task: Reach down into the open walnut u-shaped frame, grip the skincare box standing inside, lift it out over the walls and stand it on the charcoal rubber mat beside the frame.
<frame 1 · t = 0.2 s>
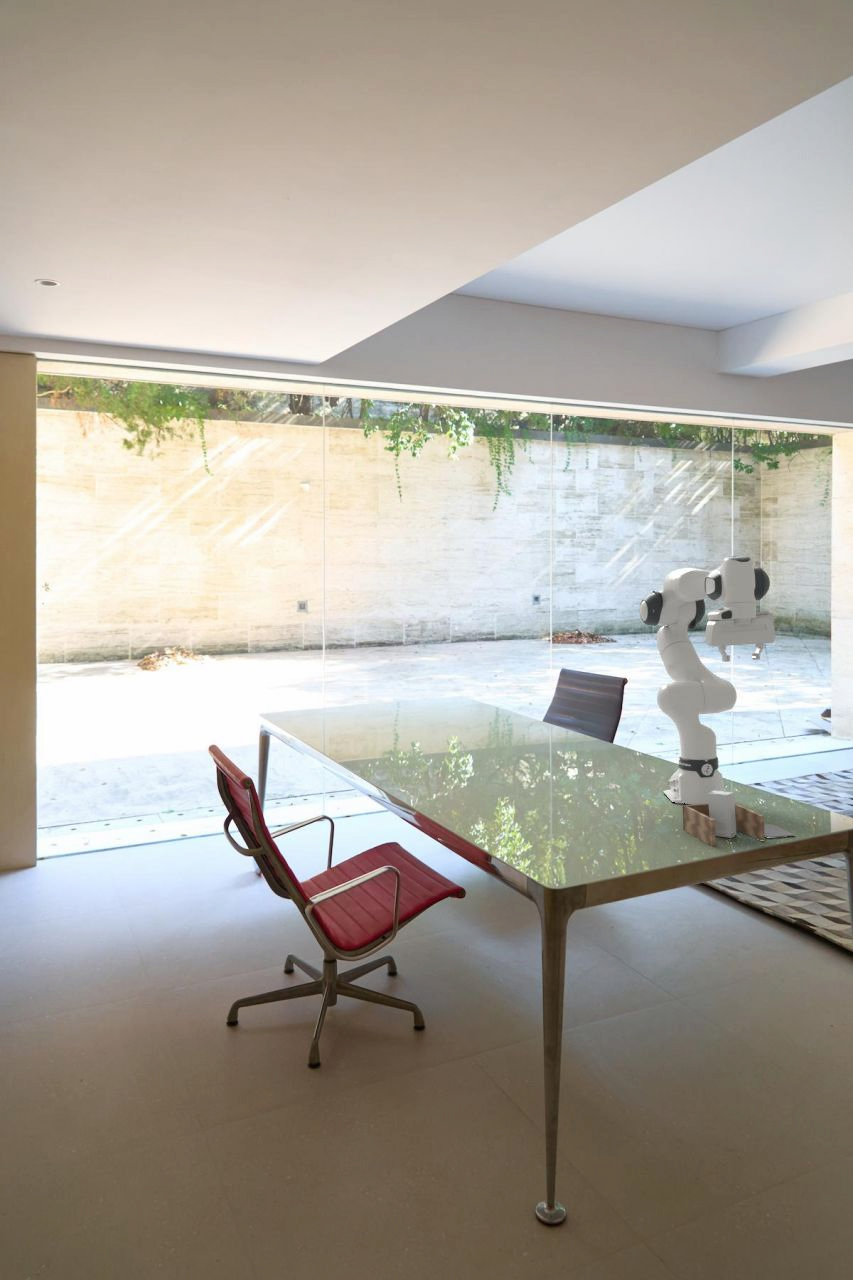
hand: (741, 660, 267), 47 cm above the table, tool pointing down, fingers open, 8 cm apart
walnut u-shaped frame: (722, 835, 257), on the table
skincare box: (722, 836, 257), resting in walnut u-shaped frame
charcoal mat: (770, 832, 258), on the table
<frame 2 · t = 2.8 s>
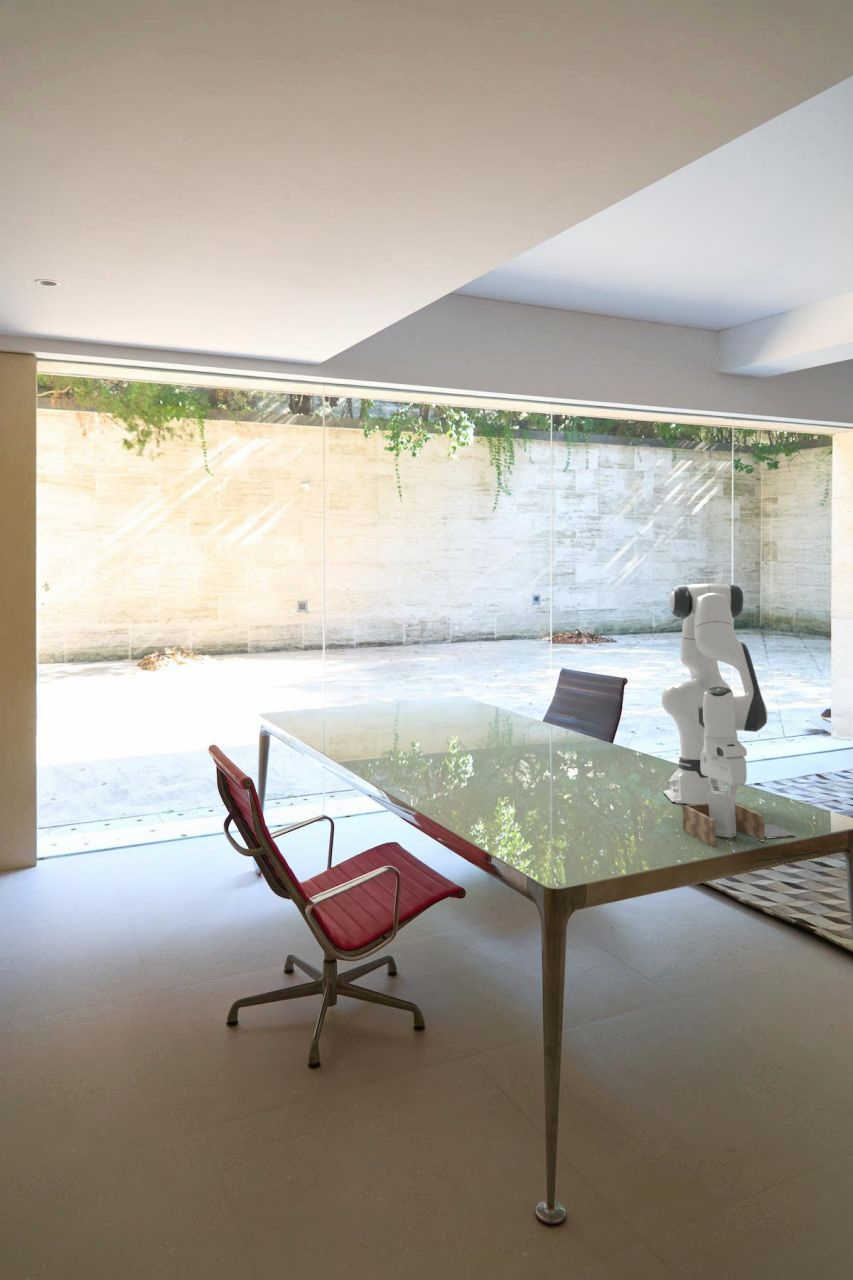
hand: (723, 796, 256), 11 cm above the table, tool pointing down, fingers open, 8 cm apart
skincare box: (722, 836, 257), resting in walnut u-shaped frame, touching gripper
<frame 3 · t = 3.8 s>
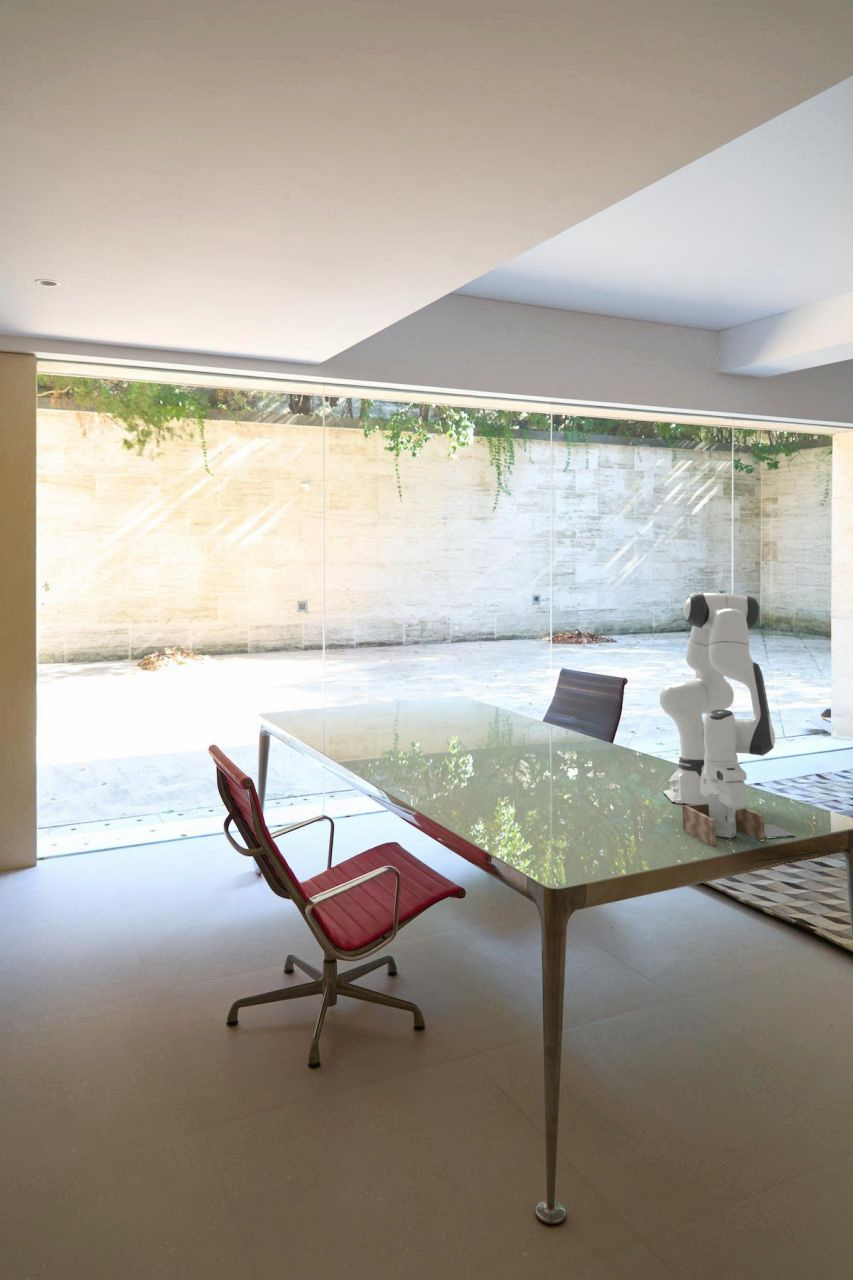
hand: (722, 818, 257), 5 cm above the table, tool pointing down, fingers closed on skincare box, 7 cm apart
skincare box: (722, 836, 257), resting in walnut u-shaped frame, touching gripper
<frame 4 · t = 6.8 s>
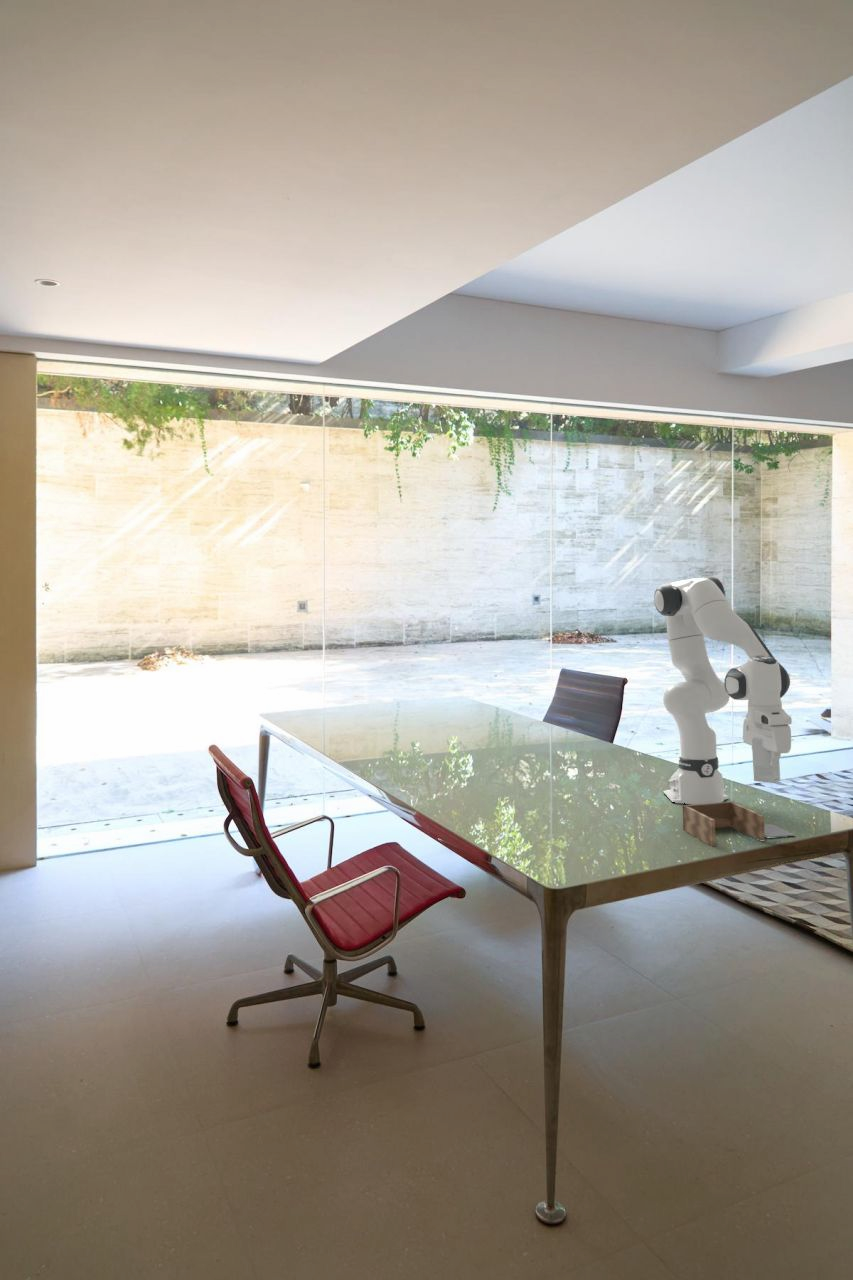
hand: (766, 764, 257), 19 cm above the table, tool pointing down, fingers closed on skincare box, 7 cm apart
skincare box: (766, 782, 258), point 14 cm above the table, touching gripper
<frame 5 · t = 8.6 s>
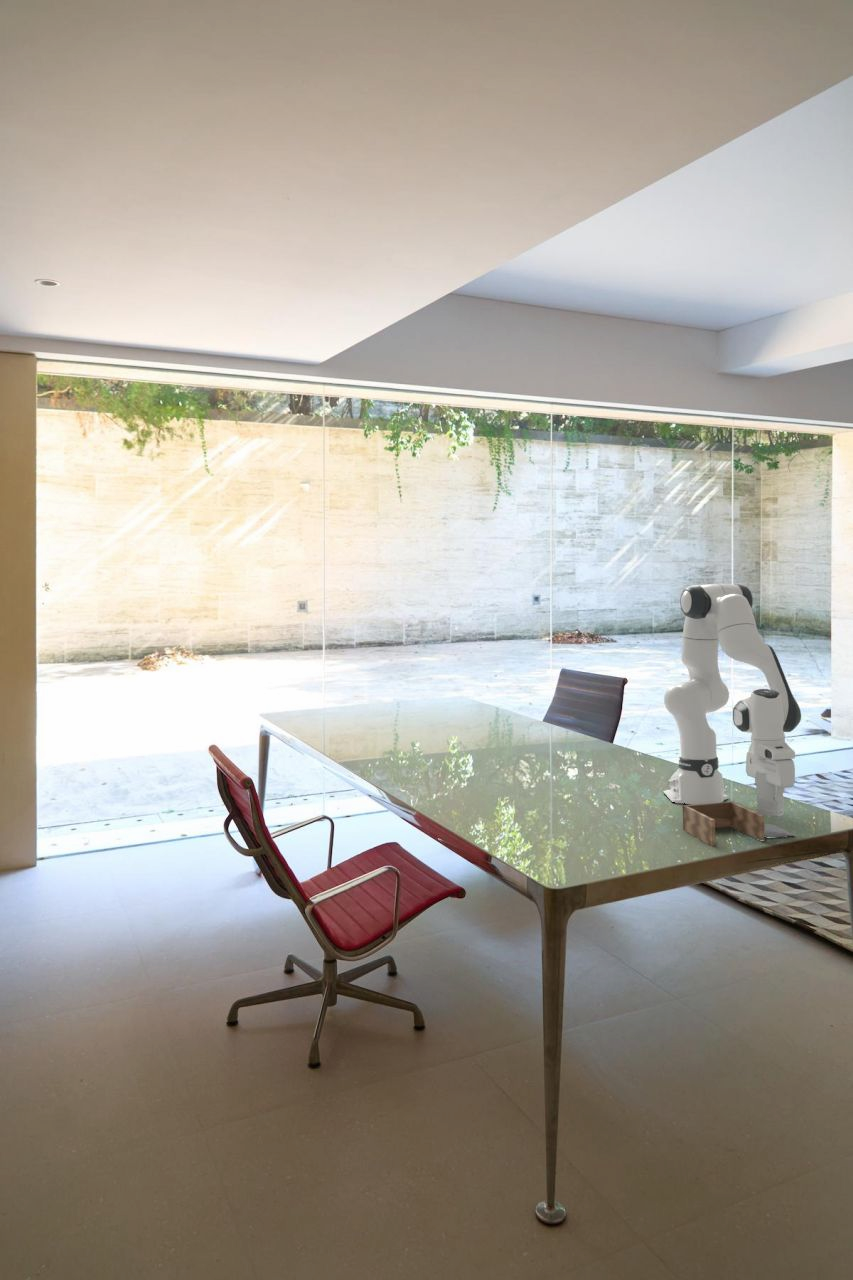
hand: (769, 797, 258), 10 cm above the table, tool pointing down, fingers closed on skincare box, 7 cm apart
skincare box: (770, 815, 258), point 5 cm above the table, touching gripper
when the fingers open (7 cm above the table, at t = 9.8 s): skincare box drops 1 cm, resting on charcoal mat.
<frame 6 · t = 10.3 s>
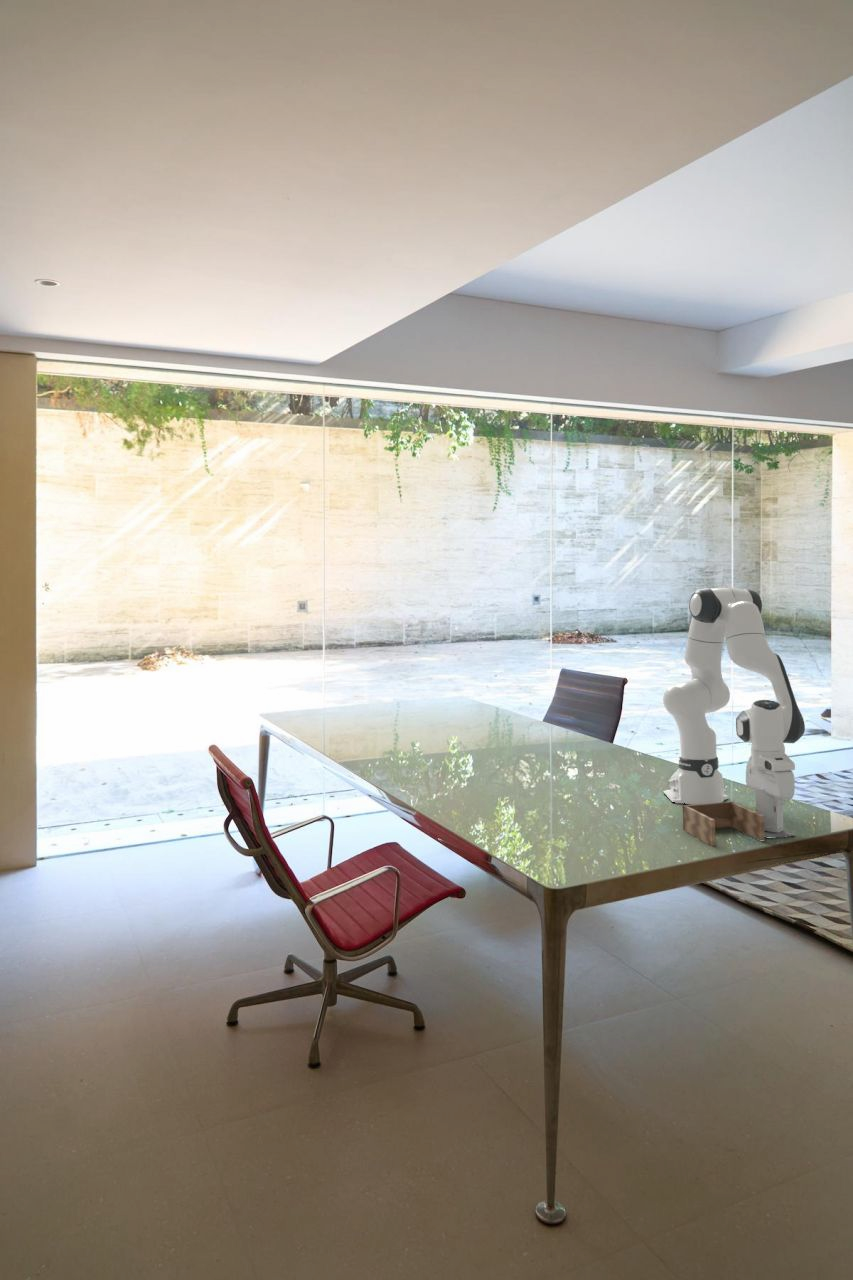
hand: (769, 808, 258), 7 cm above the table, tool pointing down, fingers open, 8 cm apart
skincare box: (769, 831, 258), resting on charcoal mat
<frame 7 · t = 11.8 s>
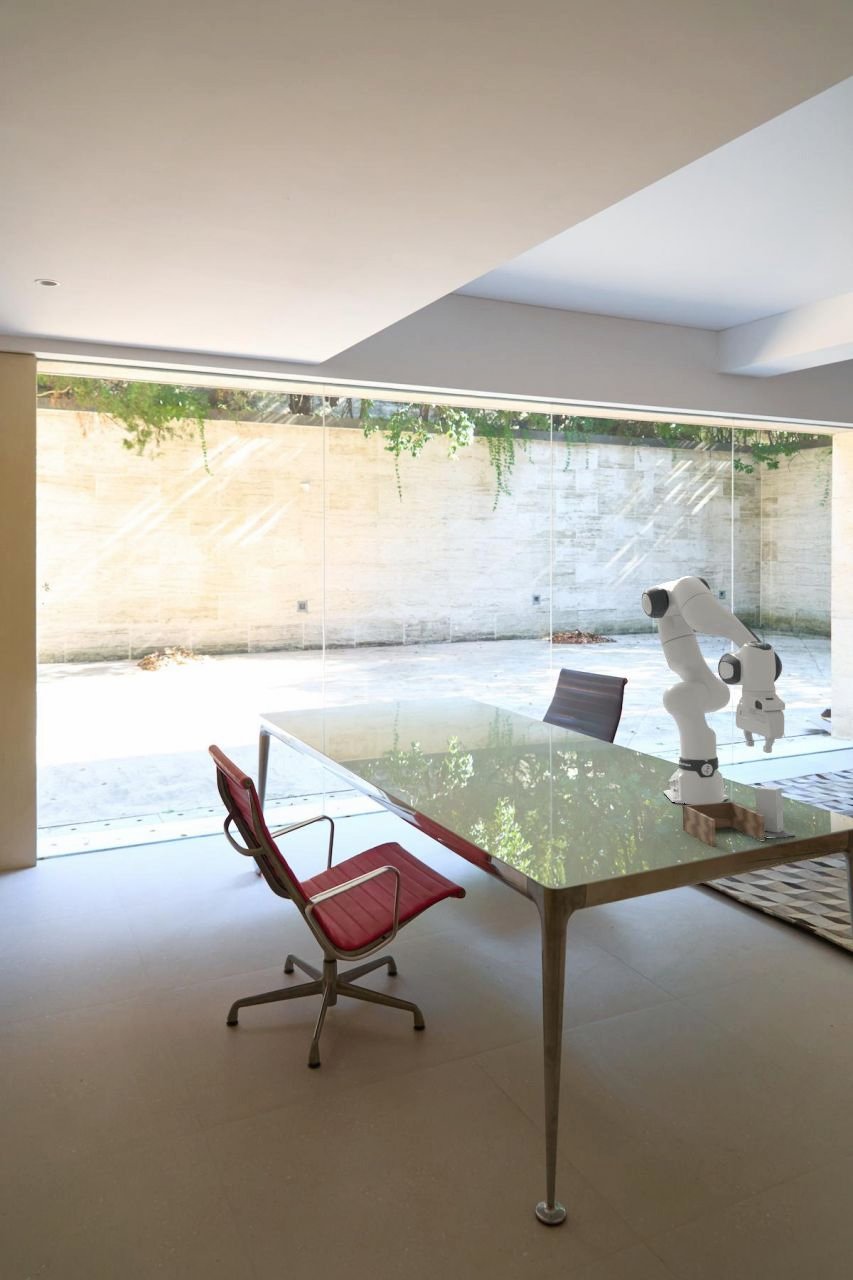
hand: (758, 749, 260), 23 cm above the table, tool pointing down, fingers open, 8 cm apart
nothing on the table moved.
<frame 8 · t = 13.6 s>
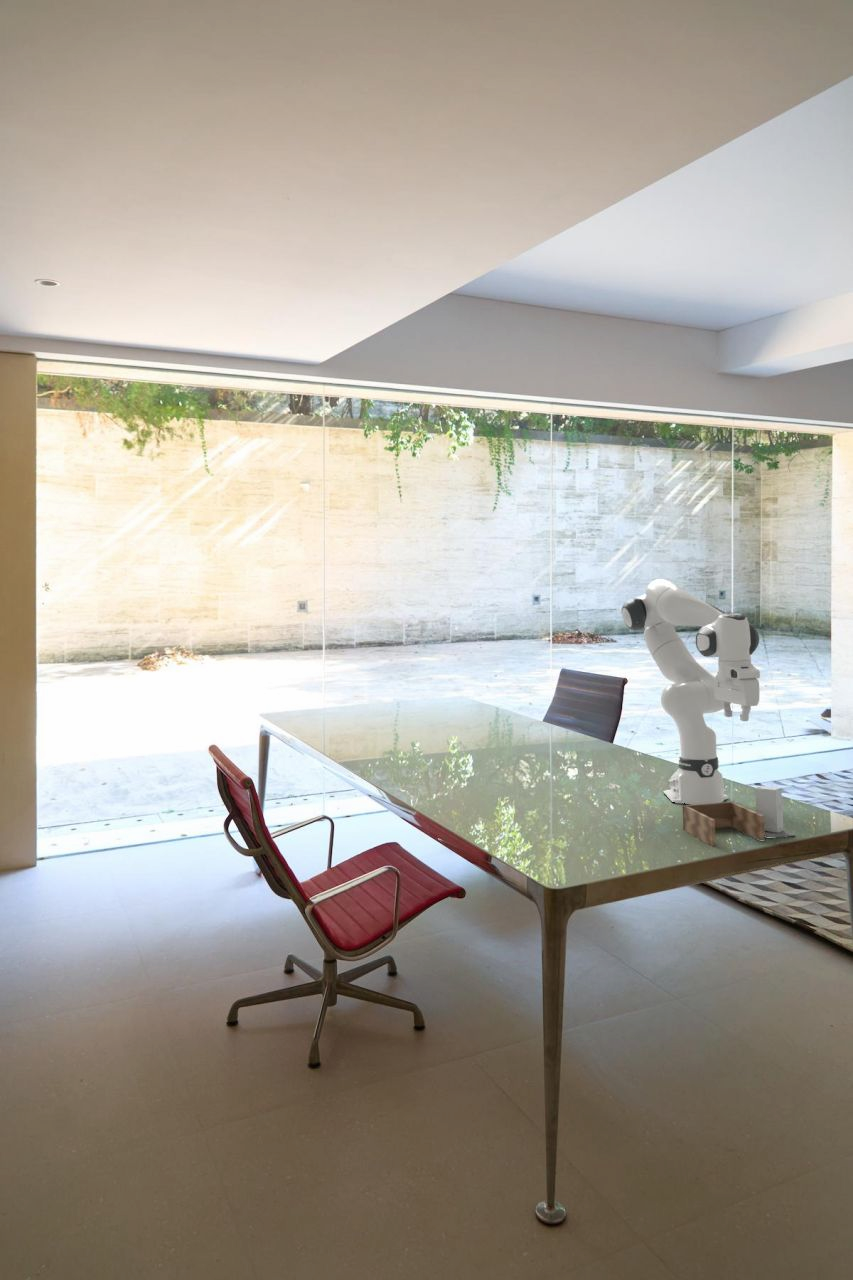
hand: (736, 718, 264), 31 cm above the table, tool pointing down, fingers open, 8 cm apart
nothing on the table moved.
at the end: skincare box inside the target area on the charcoal mat (0.1 cm from its centre), point 0.3 cm above the charcoal mat's base; skincare box tilted 0°; the gripper is holding nothing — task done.
